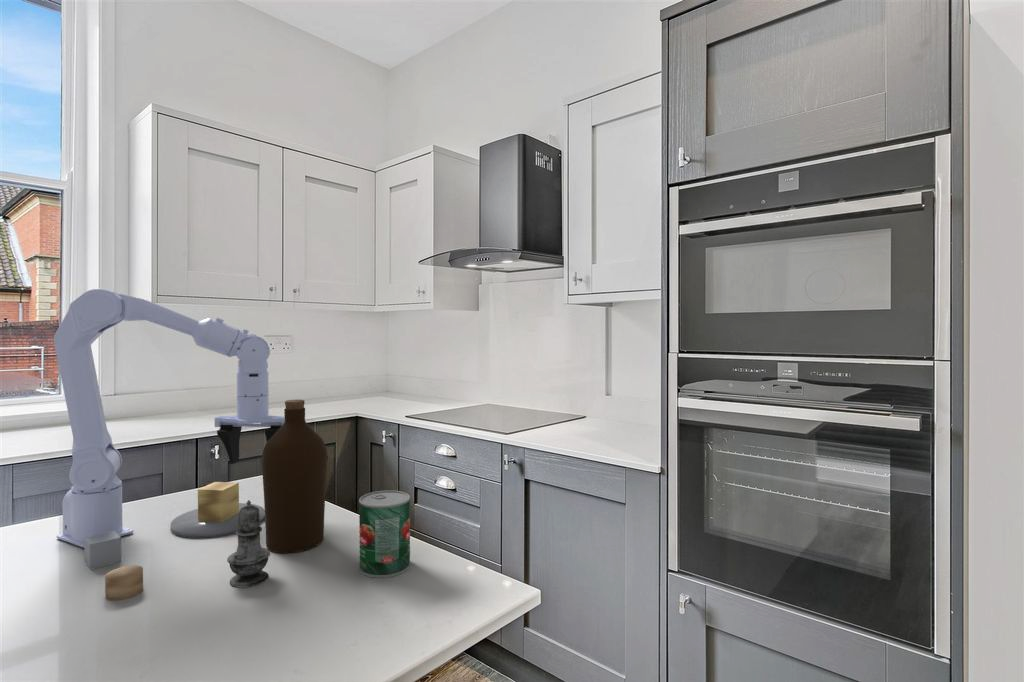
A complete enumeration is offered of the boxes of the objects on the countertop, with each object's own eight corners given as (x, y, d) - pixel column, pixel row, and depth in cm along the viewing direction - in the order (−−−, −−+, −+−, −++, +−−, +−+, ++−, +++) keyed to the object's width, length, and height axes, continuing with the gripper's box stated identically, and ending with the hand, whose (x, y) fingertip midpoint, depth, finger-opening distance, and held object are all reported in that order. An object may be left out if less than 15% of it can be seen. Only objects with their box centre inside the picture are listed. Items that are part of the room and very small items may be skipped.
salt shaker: (253, 590, 78) (253, 507, 78) (217, 586, 80) (217, 504, 79) (278, 572, 84) (278, 495, 84) (245, 568, 85) (244, 492, 85)
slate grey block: (84, 562, 87) (84, 537, 87) (114, 554, 90) (114, 530, 90) (90, 569, 85) (89, 544, 85) (121, 561, 88) (120, 537, 88)
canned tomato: (420, 566, 87) (420, 497, 86) (377, 583, 81) (377, 509, 81) (391, 551, 92) (391, 487, 92) (349, 566, 86) (349, 497, 86)
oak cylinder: (98, 596, 77) (98, 575, 77) (132, 583, 81) (132, 563, 80) (115, 603, 75) (115, 582, 75) (149, 589, 79) (149, 569, 78)
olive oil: (292, 560, 89) (291, 406, 88) (248, 547, 93) (247, 402, 93) (340, 537, 98) (340, 399, 97) (297, 527, 103) (297, 395, 102)
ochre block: (198, 520, 103) (197, 489, 103) (215, 511, 108) (215, 481, 108) (222, 522, 102) (222, 490, 102) (239, 513, 107) (238, 482, 107)
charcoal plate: (151, 527, 102) (151, 522, 102) (230, 503, 116) (230, 498, 116) (205, 544, 95) (205, 538, 95) (282, 515, 109) (282, 511, 109)
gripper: (205, 397, 105) (205, 467, 106) (279, 398, 105) (280, 468, 105) (225, 393, 112) (225, 458, 113) (295, 393, 112) (295, 459, 112)
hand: (253, 462), depth 109 cm, fingers open, 7 cm apart
